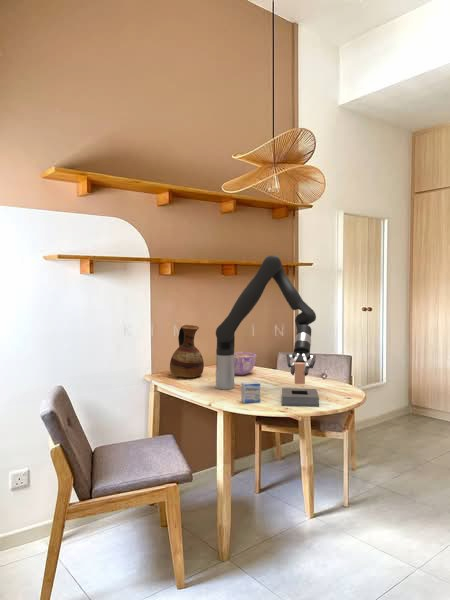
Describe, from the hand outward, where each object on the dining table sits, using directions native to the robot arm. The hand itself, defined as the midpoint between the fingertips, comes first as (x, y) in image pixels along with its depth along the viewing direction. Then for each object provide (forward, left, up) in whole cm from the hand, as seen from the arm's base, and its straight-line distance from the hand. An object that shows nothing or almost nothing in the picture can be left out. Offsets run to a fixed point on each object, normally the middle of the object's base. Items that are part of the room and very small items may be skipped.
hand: (299, 374), depth 202 cm
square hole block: (0, +2, -13) cm, 13 cm away
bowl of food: (-33, +61, -13) cm, 70 cm away
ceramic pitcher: (-63, +51, -13) cm, 82 cm away
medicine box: (-22, -1, -13) cm, 25 cm away
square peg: (0, +2, -4) cm, 5 cm away
